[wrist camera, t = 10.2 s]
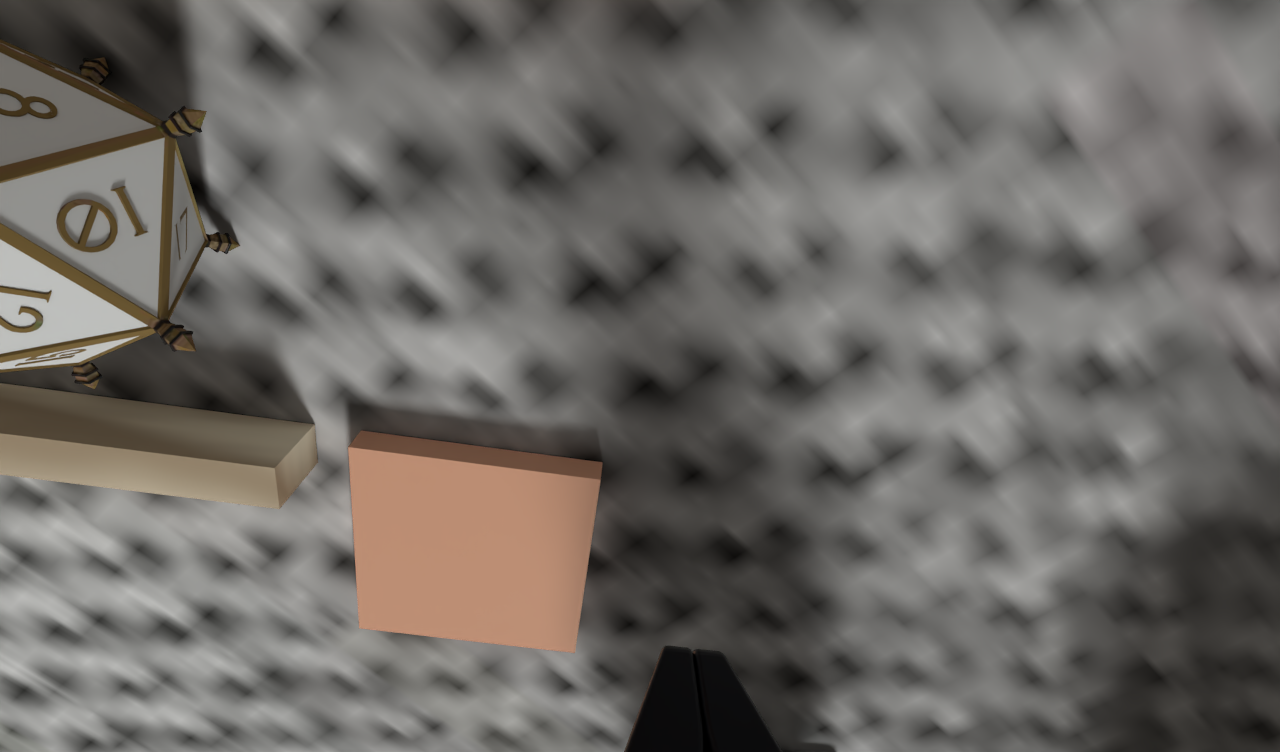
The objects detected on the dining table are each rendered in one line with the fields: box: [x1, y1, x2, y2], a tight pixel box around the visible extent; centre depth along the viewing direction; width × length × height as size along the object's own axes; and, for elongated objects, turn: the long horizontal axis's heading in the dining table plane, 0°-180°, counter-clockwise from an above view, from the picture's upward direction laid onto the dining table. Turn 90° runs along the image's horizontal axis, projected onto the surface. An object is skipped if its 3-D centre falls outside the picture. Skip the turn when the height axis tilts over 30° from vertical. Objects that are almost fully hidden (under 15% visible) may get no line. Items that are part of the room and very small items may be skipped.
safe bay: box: [0, 383, 318, 509], centre depth 16 cm, size 17×13×2 cm
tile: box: [348, 431, 603, 653], centre depth 23 cm, size 8×8×1 cm
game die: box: [0, 39, 240, 389], centre depth 14 cm, size 9×8×10 cm
